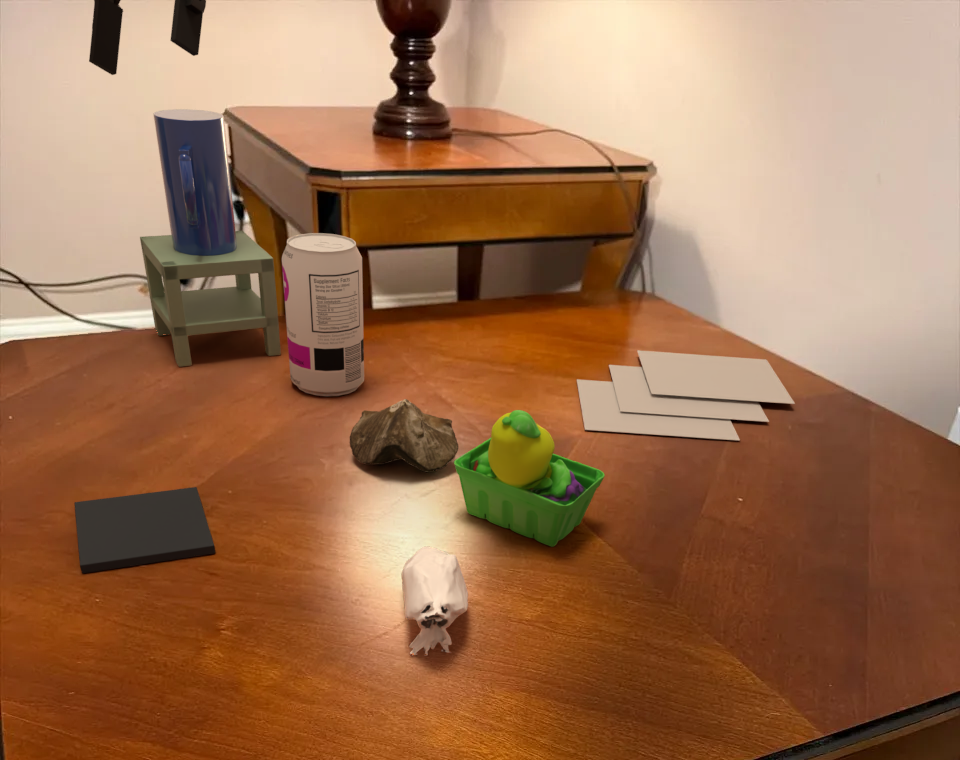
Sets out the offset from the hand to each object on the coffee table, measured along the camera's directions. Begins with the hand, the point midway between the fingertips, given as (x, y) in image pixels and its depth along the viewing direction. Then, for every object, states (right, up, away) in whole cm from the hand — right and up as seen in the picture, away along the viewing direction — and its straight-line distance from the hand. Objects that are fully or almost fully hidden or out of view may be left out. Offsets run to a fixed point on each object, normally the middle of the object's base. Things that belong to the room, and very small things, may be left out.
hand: (141, 58), depth 89 cm
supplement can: (+17, -31, +9) cm, 37 cm away
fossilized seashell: (+27, -42, -4) cm, 50 cm away
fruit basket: (+38, -49, -12) cm, 63 cm away
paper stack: (+59, -31, +13) cm, 67 cm away
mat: (+7, -51, -17) cm, 54 cm away
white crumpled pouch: (+31, -58, -23) cm, 69 cm away
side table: (+3, -23, +17) cm, 29 cm away
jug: (+4, -16, +9) cm, 18 cm away
